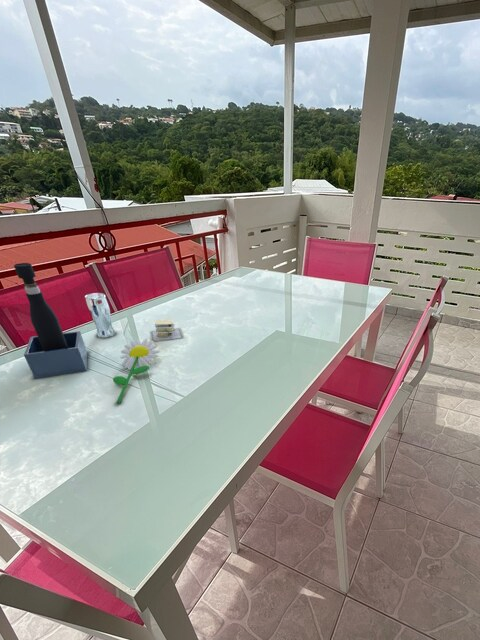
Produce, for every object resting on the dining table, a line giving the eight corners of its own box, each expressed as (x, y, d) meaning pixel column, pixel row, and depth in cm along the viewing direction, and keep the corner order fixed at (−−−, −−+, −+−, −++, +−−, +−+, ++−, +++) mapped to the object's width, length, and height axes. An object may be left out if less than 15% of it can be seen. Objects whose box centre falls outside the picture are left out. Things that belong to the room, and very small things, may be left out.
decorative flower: (144, 408, 94) (164, 349, 116) (139, 396, 90) (160, 337, 112) (98, 411, 93) (127, 351, 115) (91, 399, 89) (122, 339, 111)
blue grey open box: (34, 378, 100) (23, 355, 95) (40, 359, 109) (30, 336, 105) (86, 370, 105) (78, 347, 100) (87, 352, 115) (79, 331, 110)
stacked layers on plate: (154, 341, 125) (151, 327, 122) (152, 332, 131) (149, 318, 128) (181, 337, 128) (179, 324, 125) (178, 329, 135) (176, 316, 132)
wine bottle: (55, 357, 109) (16, 261, 92) (76, 357, 110) (41, 262, 93) (45, 366, 104) (2, 267, 87) (67, 366, 104) (28, 267, 87)
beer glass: (106, 339, 124) (94, 300, 115) (92, 336, 126) (79, 296, 117) (120, 332, 129) (110, 294, 121) (106, 329, 131) (95, 291, 123)
